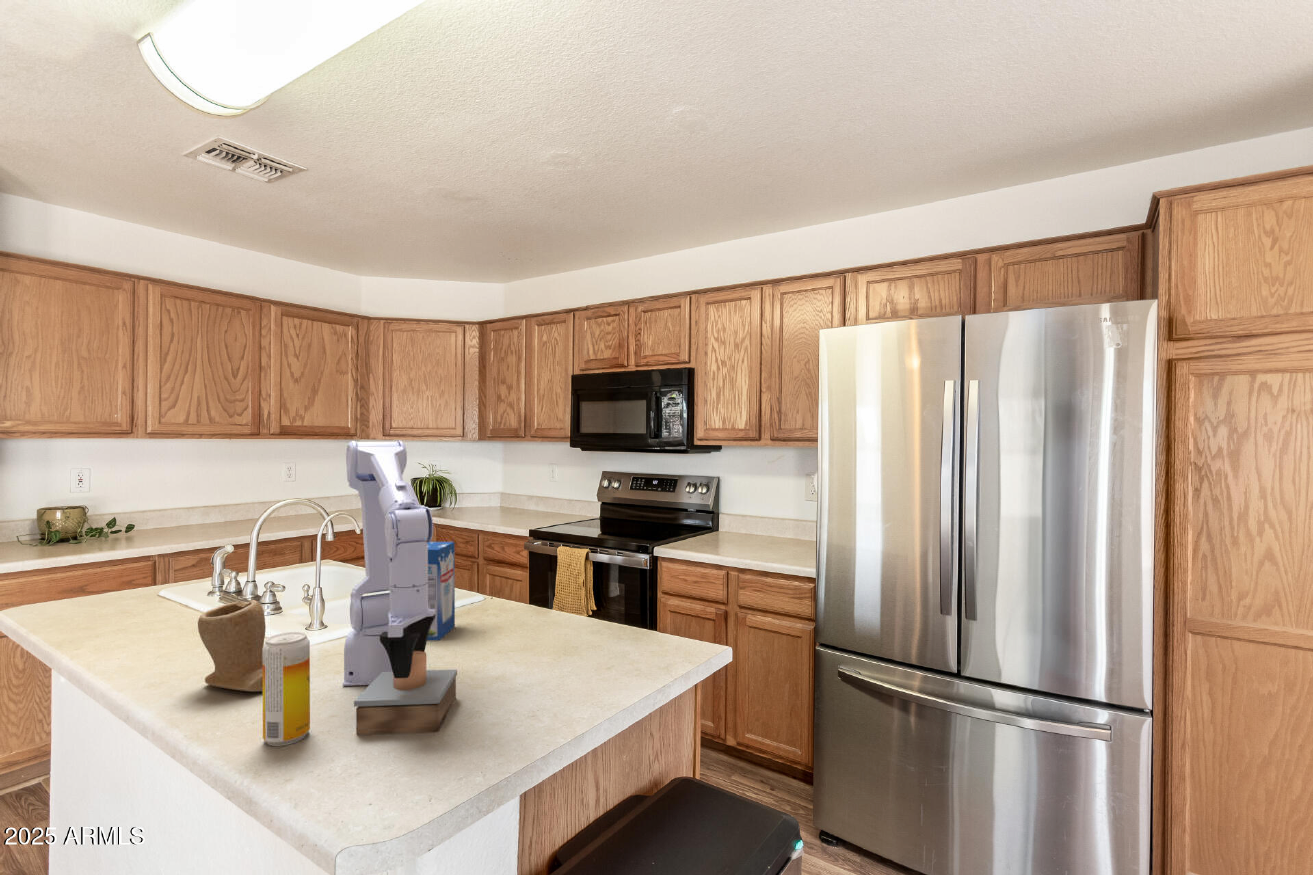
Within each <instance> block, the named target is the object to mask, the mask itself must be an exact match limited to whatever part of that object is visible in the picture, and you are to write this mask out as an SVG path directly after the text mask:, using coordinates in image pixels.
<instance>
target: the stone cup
mask: <svg viewBox="0 0 1313 875" xmlns="http://www.w3.org/2000/svg"><path fill="white" fill-rule="evenodd" d="M265 617H266V616H265V611H264V607H263V606H262V605H261V603H260V602H258V601H257V600H255V599H253V600H252V599H251V600H250V601H242V600H241V601H234V602H229V603H226V604H223V605H220V606H217V607H215V608H212V609H209V610H207V611H205V612H203V613H202V614H201V615H200V616H199V617H198V620H197V630H198V635H199V637H200V639H201V641H202V643H203V645H204V647H205V649H206V650H207V652H208V654H209V655H210V657H211V659H212V661H213V665H214V671H212V672H211V673H210V674H208V675H207V676H206V677H205V678H204V682H205V684H207V685H209V686H212V687H217V688H222V689H229V690H236V691H241V692H263V656H262V649H263V646H264V644H265V637H266V630H267V629H266V627H267V626H266V618H265Z"/></svg>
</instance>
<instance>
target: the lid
mask: <svg viewBox="0 0 1313 875" xmlns="http://www.w3.org/2000/svg"><path fill="white" fill-rule="evenodd" d="M457 675H458V669H456V668H455V669H433V670H432V669H431V670H427V669H426V684H425V685H423V686H421V687H419V688H415V689H410V690H398V689H395V688H394V687H393V672H382V673H381V674H380V675H379V676H378V677H377V678H376V679H375V680H374V681H373V682H372V683H371V684H370V685H367V687H366V688H365V689H364V690H363V691H362V693H360V694H359V696H357V697H356V698H355V699H354V701H353V707H354V708H355V707H356V708H357V707H358V706H384V705H411V704H437V703H439V702H440V701H441V699H442V698H443V696H444V694H445V693H446V691H447V690H448V688H449V686H450V685H451V683H452V681H453V680H454V678H455V677H456V678H457Z"/></svg>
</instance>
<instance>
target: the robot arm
mask: <svg viewBox="0 0 1313 875" xmlns="http://www.w3.org/2000/svg"><path fill="white" fill-rule="evenodd" d="M345 461H346V462H345V463H346V465H345V466H346V479H347V482H348V487H349V488H351V489H353V490H355V491H357V492H358V496H359V500H360V504H361V518H362V519H361V521H362V523H361V524H362V533H363V534H362V537H363V552H364V566H365V568H364V569H365V578H364V579H362V580H361V581H360V582H359V583H358V584H356V585H355V586H354V587H353V588H352V590H351V593H350V605H349V618H350V619H349V620H350V626H351V629H352V630H350V631H349V632H348V634H347V635H346V638H345V641H344V642H345V643H344V648H343V666H344V667H343V670H344V671H343V682H342V686H348V687H349V686H369V685H370V684H371V683H372V682H373V681H374V680H375V679H376V678H377V677H378V676H379V675H380V674H381V673H382V672H393V675H394V678H408V677H409V675H410V671H411V666H412V657H413V652H414V651H423V652H425V653H426V648H427V647H426V646H427V642H428V640H427V637H428V634H429V630H430V628H431V625H432V623H433V621H434V619H435V609H429V608H428V544H427V542H428V543H429V542H432V540H433V534H434V522H433V515H432V512H431V510H430V507H428V506H425V505H423V504H422V505H421V504H420V502H419V499H418V497H417V495H416V493H415V490H414V487H413V486H412V485H411V484H410V483H409V482H406V481H405V480H404V478H403V474H404V472H405V469H406V467H407V461H408V455H407V447H406V445H405V444H404V442H403V441H402V440H397V441H355V440H351V441H350V442H349V443H348V444H347V446H346V453H345ZM381 592H384V593H381ZM374 593H376V594H374ZM366 594H370V595H366Z"/></svg>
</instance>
